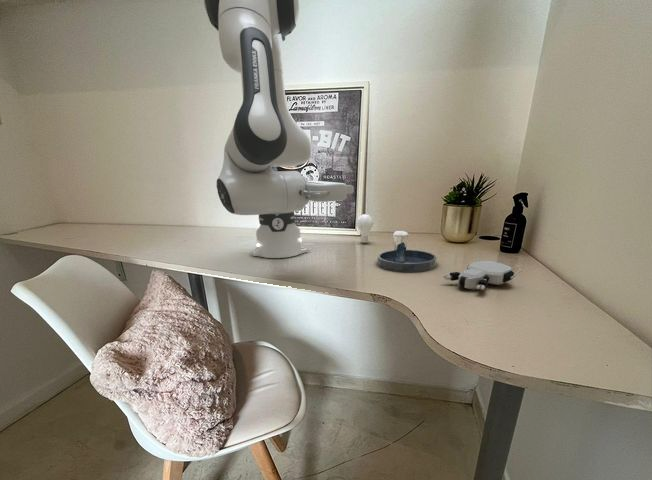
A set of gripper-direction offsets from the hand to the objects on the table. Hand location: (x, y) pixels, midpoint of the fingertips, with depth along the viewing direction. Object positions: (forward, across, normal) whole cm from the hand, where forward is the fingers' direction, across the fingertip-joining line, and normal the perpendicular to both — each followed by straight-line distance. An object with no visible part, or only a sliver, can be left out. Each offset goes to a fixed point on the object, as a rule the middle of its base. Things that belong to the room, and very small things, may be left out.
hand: (341, 188), depth 84 cm
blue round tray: (+21, -3, +23) cm, 31 cm away
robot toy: (+22, -28, +22) cm, 42 cm away
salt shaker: (+21, 0, +22) cm, 31 cm away
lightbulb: (+29, +30, +24) cm, 48 cm away
